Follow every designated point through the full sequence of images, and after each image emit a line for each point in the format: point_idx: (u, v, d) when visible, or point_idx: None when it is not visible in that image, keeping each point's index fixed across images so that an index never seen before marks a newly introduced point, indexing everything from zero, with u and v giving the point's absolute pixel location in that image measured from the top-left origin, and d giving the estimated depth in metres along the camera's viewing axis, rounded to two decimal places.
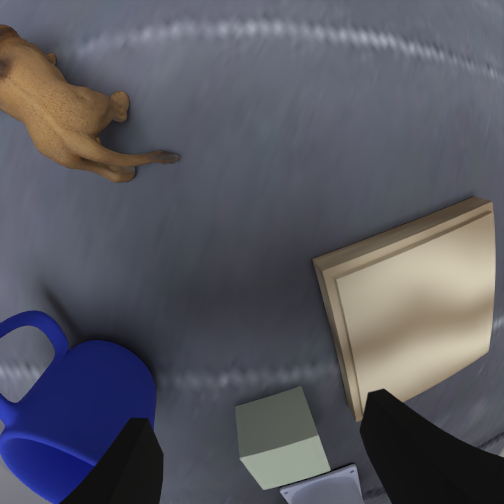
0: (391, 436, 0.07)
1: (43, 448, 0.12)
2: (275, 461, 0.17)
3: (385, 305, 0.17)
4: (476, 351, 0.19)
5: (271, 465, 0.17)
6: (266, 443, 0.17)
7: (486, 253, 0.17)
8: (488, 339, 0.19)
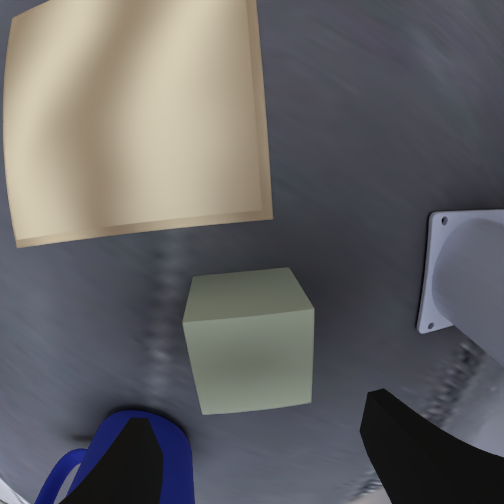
0: (391, 436, 0.07)
1: None
2: (229, 382, 0.12)
3: (50, 179, 0.12)
4: None
5: (238, 388, 0.13)
6: None
7: (50, 16, 0.09)
8: None
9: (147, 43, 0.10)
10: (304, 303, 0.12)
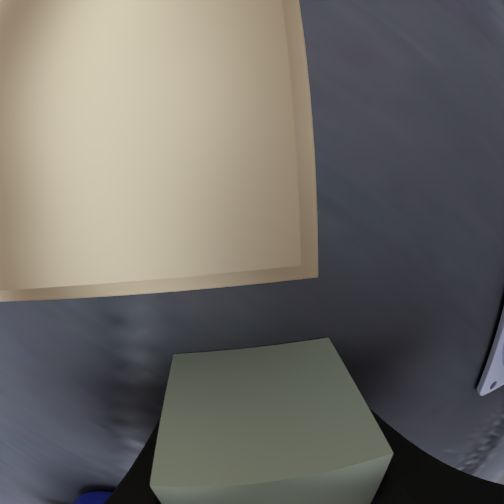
0: None
1: None
2: None
3: None
4: None
5: None
6: None
7: None
8: None
9: None
10: (374, 439, 0.06)
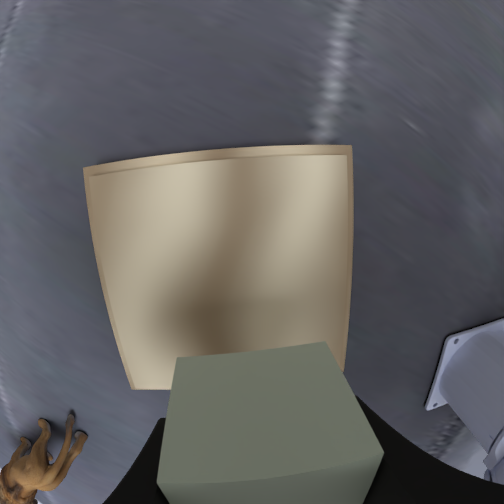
0: None
1: None
2: None
3: (171, 353, 0.16)
4: (327, 189, 0.14)
5: None
6: None
7: (142, 190, 0.13)
8: (317, 159, 0.14)
9: (260, 250, 0.15)
10: (366, 439, 0.06)
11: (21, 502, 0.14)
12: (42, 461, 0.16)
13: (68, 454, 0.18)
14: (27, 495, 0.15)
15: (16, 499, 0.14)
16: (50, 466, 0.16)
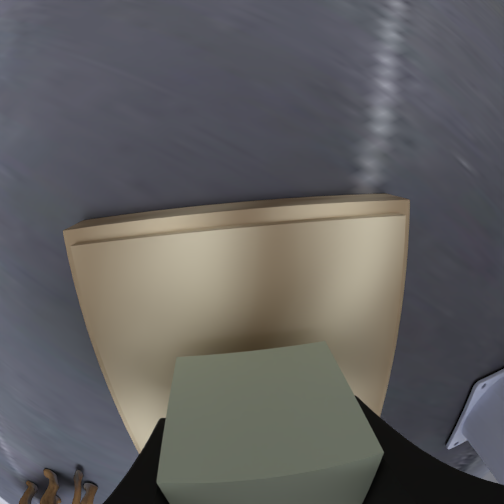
0: None
1: None
2: None
3: None
4: (381, 259, 0.11)
5: None
6: None
7: (142, 267, 0.10)
8: (371, 223, 0.10)
9: (297, 336, 0.11)
10: (366, 439, 0.06)
11: None
12: None
13: None
14: None
15: None
16: None
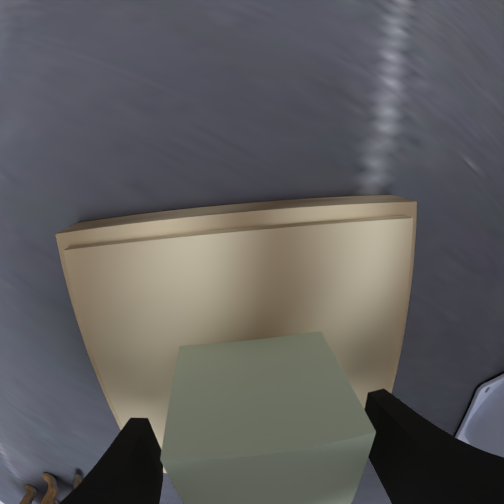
0: (391, 436, 0.07)
1: None
2: None
3: None
4: (387, 263, 0.10)
5: None
6: None
7: (138, 272, 0.10)
8: (378, 226, 0.10)
9: None
10: (358, 419, 0.07)
11: None
12: None
13: None
14: None
15: None
16: None
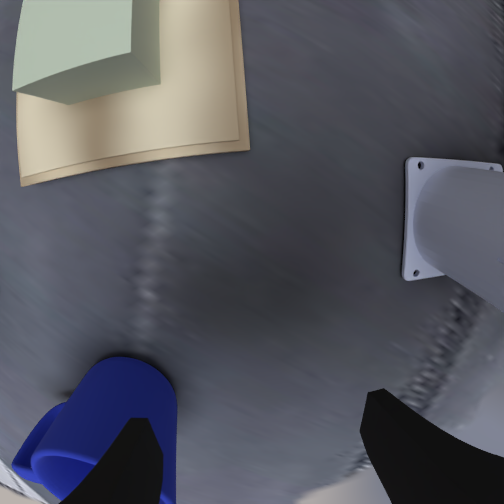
0: (391, 436, 0.07)
1: None
2: (44, 34, 0.07)
3: (56, 120, 0.13)
4: None
5: (51, 40, 0.07)
6: None
7: None
8: None
9: None
10: None
11: None
12: None
13: None
14: None
15: None
16: None
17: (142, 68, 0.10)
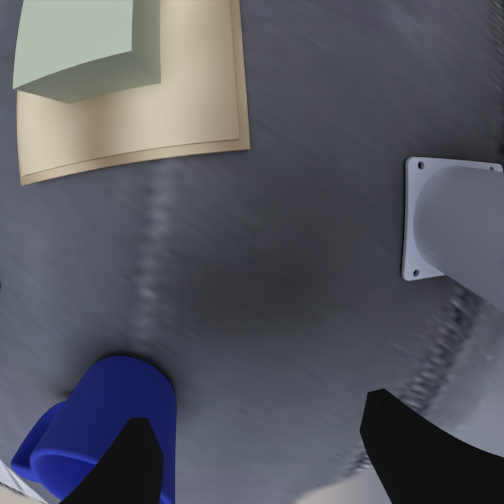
0: (391, 436, 0.07)
1: None
2: (45, 33, 0.07)
3: (56, 119, 0.13)
4: None
5: (51, 39, 0.07)
6: None
7: None
8: None
9: None
10: None
11: None
12: None
13: None
14: None
15: None
16: None
17: (142, 67, 0.10)
